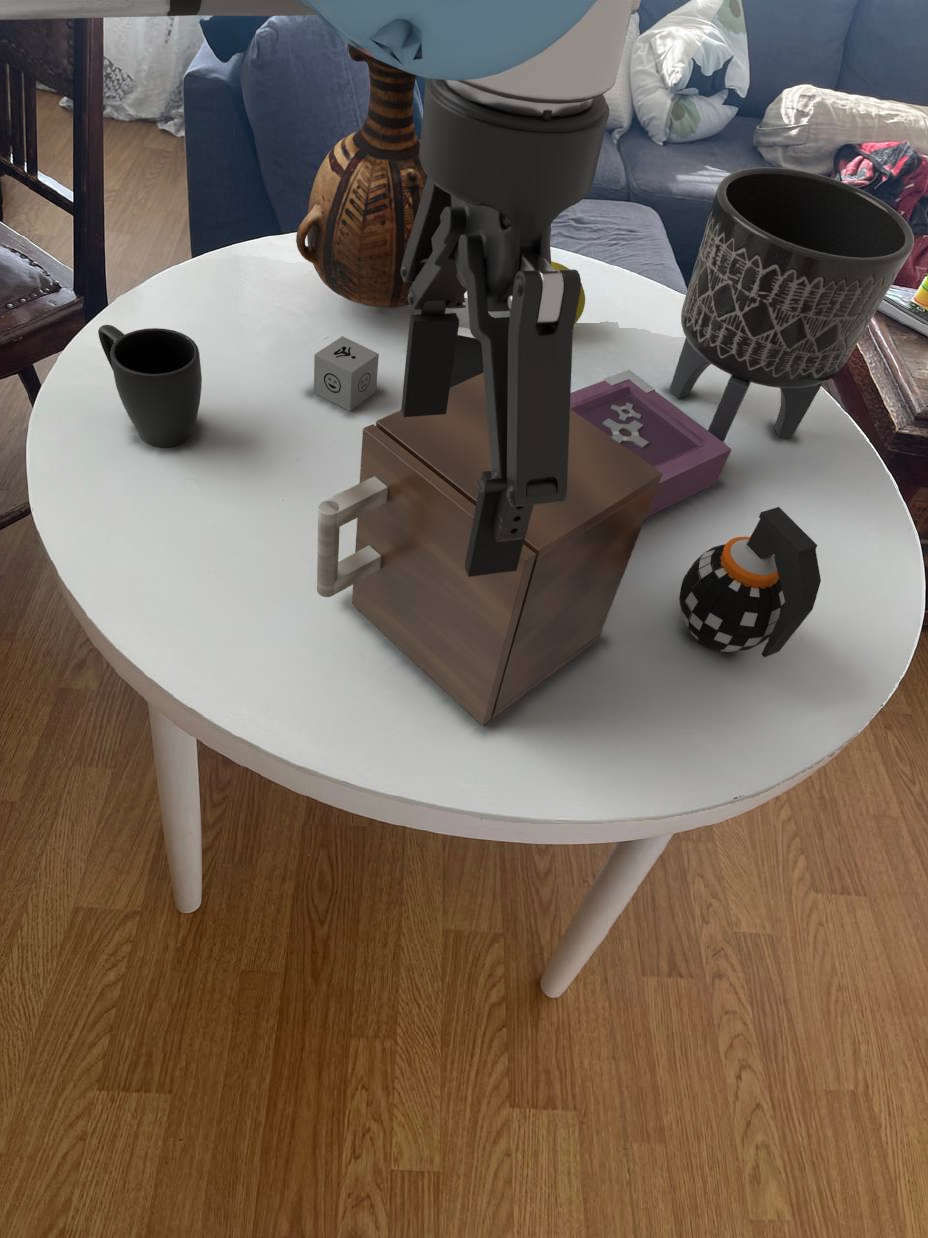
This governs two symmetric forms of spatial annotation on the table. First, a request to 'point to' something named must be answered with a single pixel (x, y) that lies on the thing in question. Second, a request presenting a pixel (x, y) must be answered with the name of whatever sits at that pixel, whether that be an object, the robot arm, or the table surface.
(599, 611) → the cupboard
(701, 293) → the planter
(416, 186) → the vase
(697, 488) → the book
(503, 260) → the robot arm
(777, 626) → the grenade
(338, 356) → the dice cube
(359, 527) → the cupboard door
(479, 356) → the cell phone
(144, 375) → the mug
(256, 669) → the table surface
